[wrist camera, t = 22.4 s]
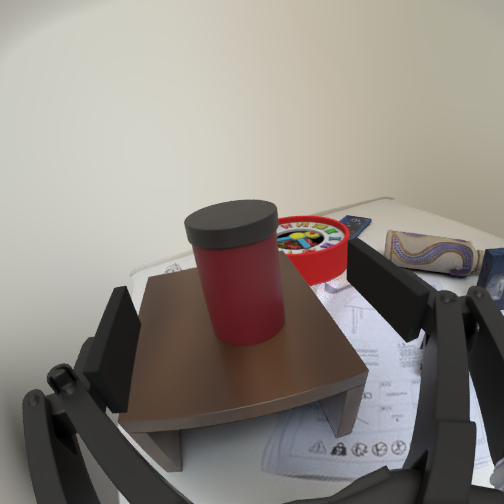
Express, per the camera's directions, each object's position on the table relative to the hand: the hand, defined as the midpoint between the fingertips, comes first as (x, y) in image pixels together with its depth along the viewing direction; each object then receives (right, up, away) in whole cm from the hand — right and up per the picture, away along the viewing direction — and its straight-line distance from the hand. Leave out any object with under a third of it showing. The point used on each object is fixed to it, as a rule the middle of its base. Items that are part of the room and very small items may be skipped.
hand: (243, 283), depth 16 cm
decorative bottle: (+35, -2, +27) cm, 44 cm away
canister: (0, -4, +9) cm, 10 cm away
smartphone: (+24, +7, +51) cm, 57 cm away
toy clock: (+10, 0, +40) cm, 41 cm away
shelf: (-1, -13, +14) cm, 19 cm away
